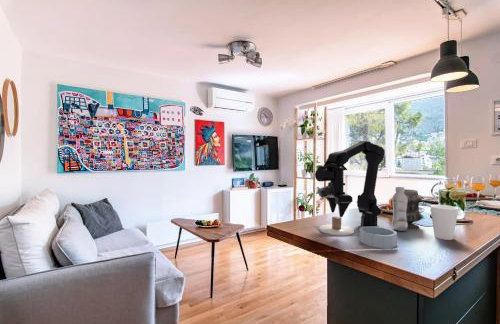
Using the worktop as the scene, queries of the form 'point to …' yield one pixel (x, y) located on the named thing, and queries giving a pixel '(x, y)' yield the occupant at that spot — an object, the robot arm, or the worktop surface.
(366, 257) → the worktop surface
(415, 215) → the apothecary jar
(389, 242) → the dish
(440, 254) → the worktop surface
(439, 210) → the foam cup
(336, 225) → the lid
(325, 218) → the worktop surface
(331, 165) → the robot arm
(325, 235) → the mat
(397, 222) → the plastic bottle
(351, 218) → the worktop surface
